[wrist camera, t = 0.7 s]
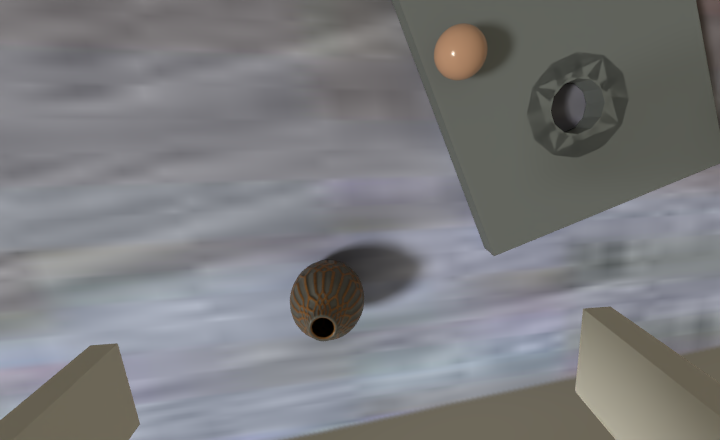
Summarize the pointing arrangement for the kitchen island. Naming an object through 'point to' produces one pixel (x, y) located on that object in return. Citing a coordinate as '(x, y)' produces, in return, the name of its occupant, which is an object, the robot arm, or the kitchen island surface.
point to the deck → (535, 97)
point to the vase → (327, 300)
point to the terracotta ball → (460, 51)
